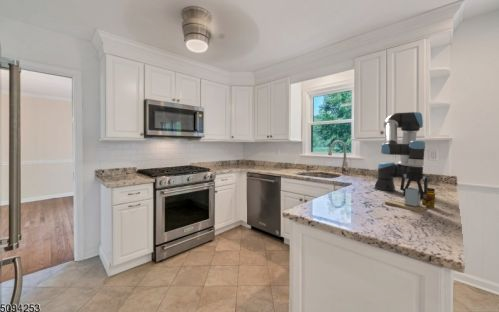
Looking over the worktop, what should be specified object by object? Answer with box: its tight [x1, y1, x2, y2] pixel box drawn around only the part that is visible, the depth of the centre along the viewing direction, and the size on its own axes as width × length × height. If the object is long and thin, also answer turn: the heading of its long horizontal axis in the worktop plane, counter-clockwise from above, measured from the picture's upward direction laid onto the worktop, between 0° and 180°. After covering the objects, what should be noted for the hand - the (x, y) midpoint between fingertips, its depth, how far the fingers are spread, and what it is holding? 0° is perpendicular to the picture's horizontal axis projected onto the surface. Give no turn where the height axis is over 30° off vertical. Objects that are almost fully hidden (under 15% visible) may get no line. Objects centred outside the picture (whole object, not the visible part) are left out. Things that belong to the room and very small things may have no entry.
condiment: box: [420, 187, 438, 210], centre depth 139 cm, size 7×8×12 cm
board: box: [384, 198, 427, 213], centre depth 139 cm, size 12×19×2 cm, turn 40°
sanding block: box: [404, 186, 420, 207], centre depth 136 cm, size 8×6×10 cm
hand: (412, 203), depth 136 cm, fingers closed on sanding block, 6 cm apart
